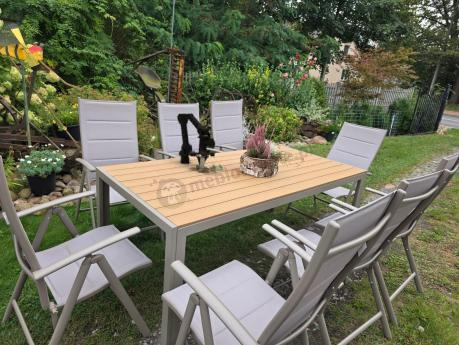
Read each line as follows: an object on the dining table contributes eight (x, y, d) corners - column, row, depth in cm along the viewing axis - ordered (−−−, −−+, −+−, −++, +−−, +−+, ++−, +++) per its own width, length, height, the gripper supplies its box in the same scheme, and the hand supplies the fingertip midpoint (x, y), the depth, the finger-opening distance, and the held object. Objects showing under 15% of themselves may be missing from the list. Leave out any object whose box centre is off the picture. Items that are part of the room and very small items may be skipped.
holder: (214, 170, 227) (214, 167, 226) (211, 166, 235) (211, 163, 234) (223, 170, 229) (224, 167, 229) (220, 166, 238) (220, 163, 237)
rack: (198, 171, 222) (199, 169, 222) (195, 166, 232) (195, 164, 231) (206, 170, 224) (206, 169, 224) (203, 166, 234) (203, 164, 233)
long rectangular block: (200, 169, 225) (201, 158, 222) (198, 167, 230) (199, 156, 228) (204, 169, 225) (204, 158, 223) (202, 167, 231) (202, 156, 229)
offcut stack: (198, 173, 219) (198, 170, 218) (197, 171, 221) (198, 168, 221) (209, 173, 220) (209, 170, 220) (208, 171, 223) (208, 168, 223)
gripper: (192, 147, 212) (191, 168, 217) (217, 147, 218) (216, 167, 223) (189, 143, 222) (188, 163, 227) (213, 144, 228) (212, 163, 233)
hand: (201, 164), depth 227 cm, fingers closed on long rectangular block, 3 cm apart
